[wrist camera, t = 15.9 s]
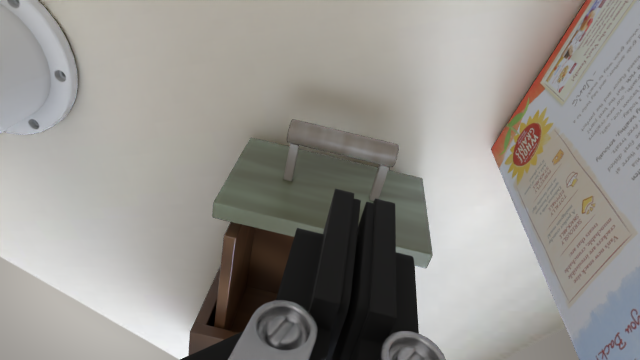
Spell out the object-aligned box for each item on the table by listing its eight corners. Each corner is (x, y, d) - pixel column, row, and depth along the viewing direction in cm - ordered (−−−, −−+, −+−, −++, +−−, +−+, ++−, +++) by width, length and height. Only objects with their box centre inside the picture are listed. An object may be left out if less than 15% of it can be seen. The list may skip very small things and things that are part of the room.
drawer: (257, 83, 32) (218, 139, 24) (442, 128, 32) (459, 197, 25) (232, 279, 43) (199, 359, 35) (370, 312, 43) (367, 399, 35)
